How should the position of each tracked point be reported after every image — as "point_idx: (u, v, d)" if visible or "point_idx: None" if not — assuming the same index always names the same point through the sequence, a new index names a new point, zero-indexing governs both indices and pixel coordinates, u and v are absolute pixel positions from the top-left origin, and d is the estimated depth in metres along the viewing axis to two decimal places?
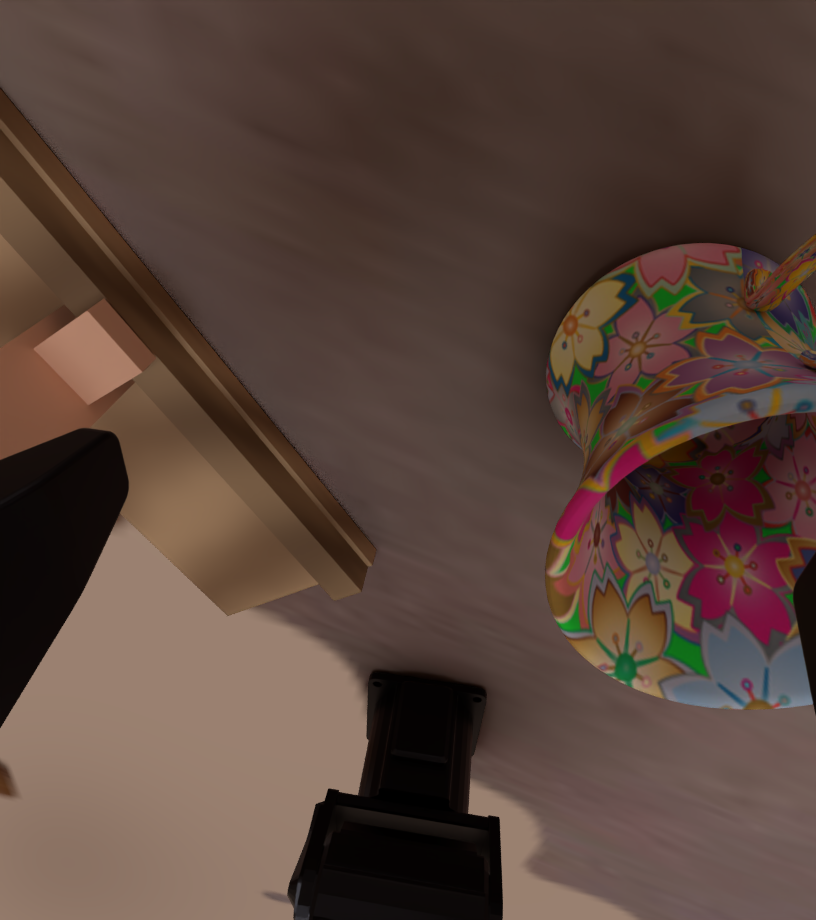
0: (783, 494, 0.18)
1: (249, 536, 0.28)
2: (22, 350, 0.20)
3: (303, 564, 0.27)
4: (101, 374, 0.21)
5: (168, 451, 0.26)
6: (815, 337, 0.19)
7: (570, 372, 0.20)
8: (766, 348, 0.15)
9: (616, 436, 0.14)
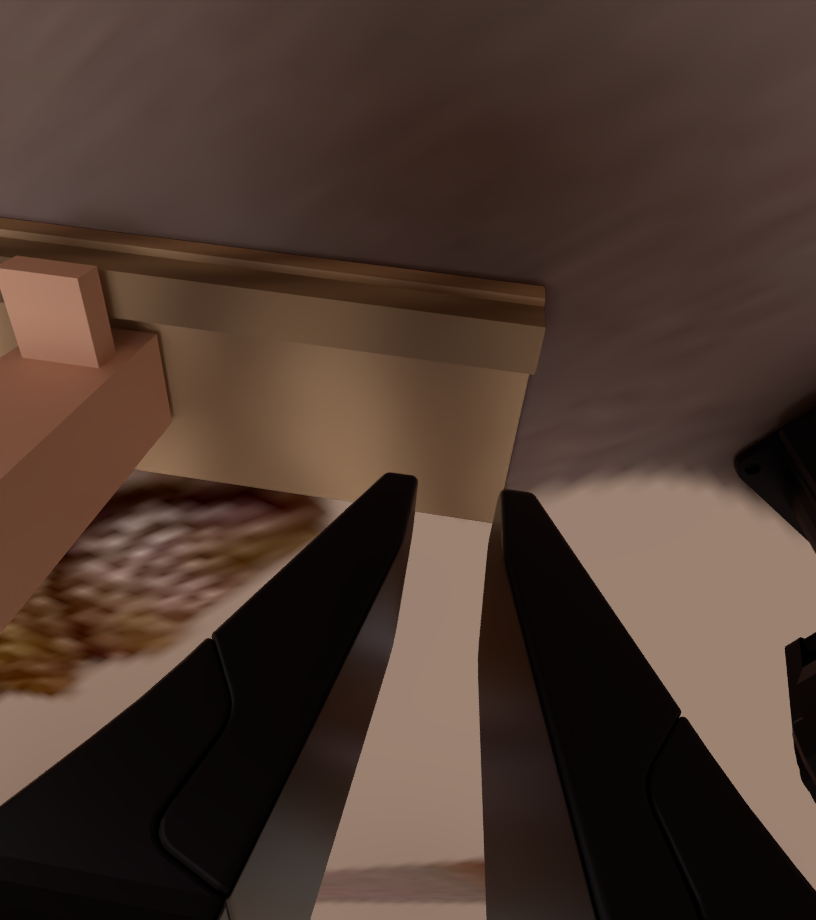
0: None
1: (405, 401, 0.21)
2: (9, 362, 0.18)
3: (453, 360, 0.18)
4: (67, 322, 0.18)
5: (255, 382, 0.22)
6: None
7: None
8: None
9: None
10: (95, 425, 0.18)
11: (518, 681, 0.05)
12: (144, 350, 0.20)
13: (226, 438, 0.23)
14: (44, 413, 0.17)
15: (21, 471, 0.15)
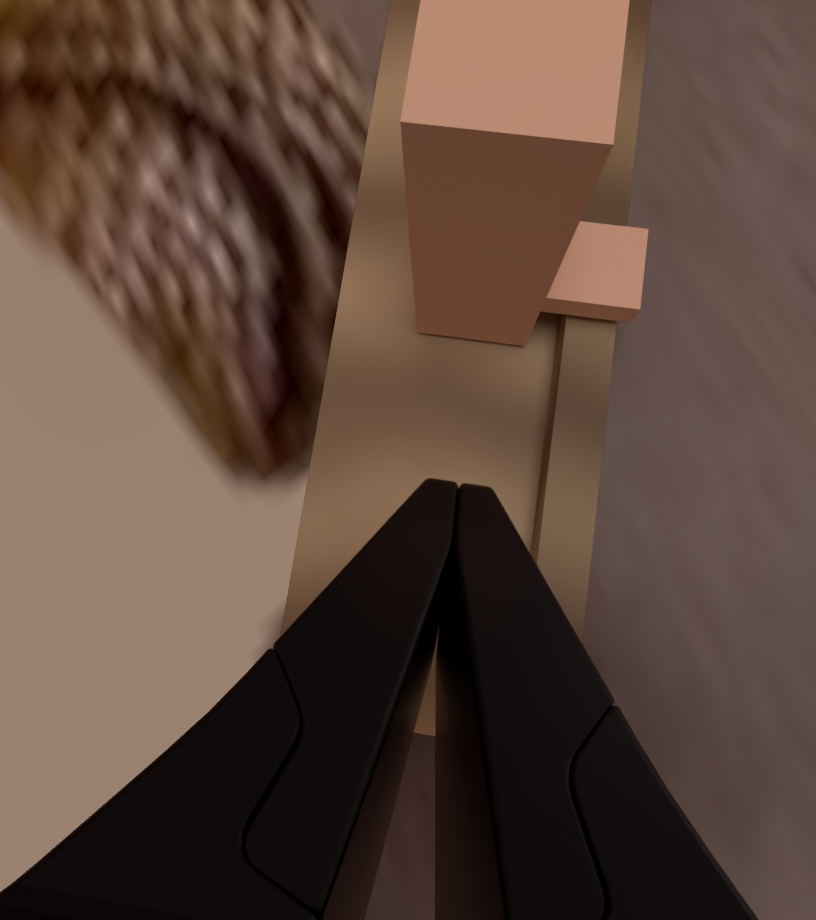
0: None
1: None
2: None
3: None
4: (593, 282, 0.18)
5: (463, 436, 0.20)
6: None
7: None
8: None
9: None
10: (511, 287, 0.16)
11: (460, 671, 0.05)
12: (524, 335, 0.19)
13: (390, 387, 0.20)
14: None
15: (562, 229, 0.13)
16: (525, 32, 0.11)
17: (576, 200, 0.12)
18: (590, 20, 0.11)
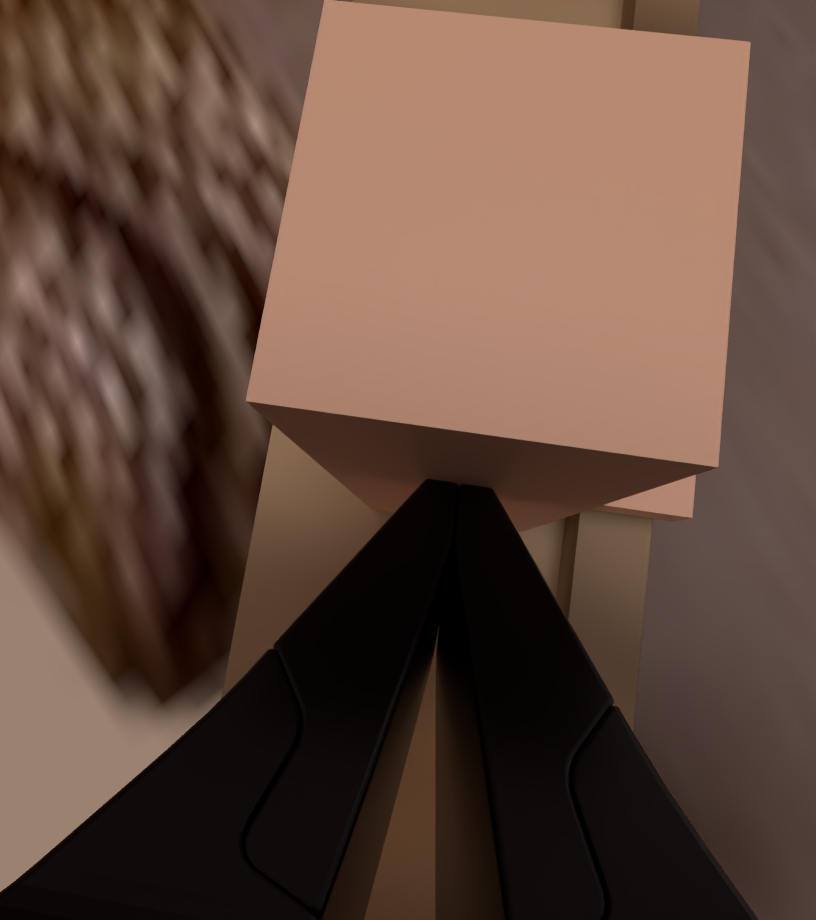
0: None
1: (404, 913, 0.13)
2: None
3: None
4: None
5: (435, 662, 0.14)
6: None
7: None
8: None
9: None
10: None
11: (460, 671, 0.05)
12: (520, 528, 0.14)
13: None
14: None
15: (587, 498, 0.07)
16: (520, 202, 0.05)
17: (618, 489, 0.06)
18: (659, 176, 0.05)
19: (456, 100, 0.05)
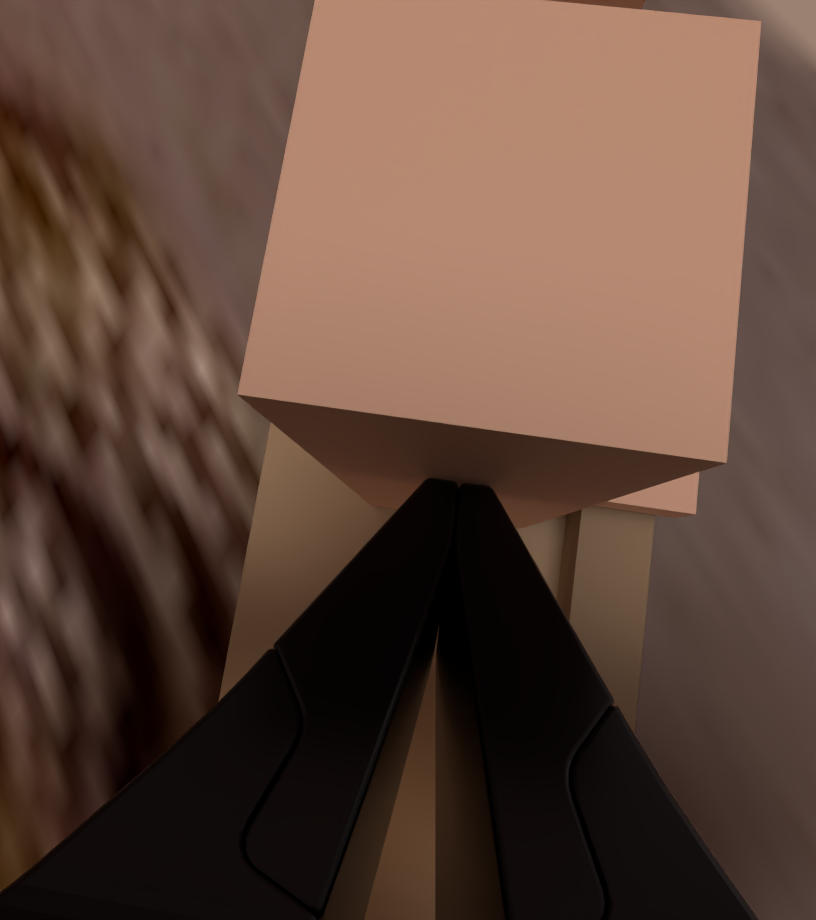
0: None
1: None
2: None
3: None
4: None
5: None
6: None
7: None
8: None
9: None
10: None
11: (460, 671, 0.05)
12: (521, 525, 0.13)
13: None
14: None
15: (589, 496, 0.07)
16: (522, 188, 0.05)
17: (622, 485, 0.06)
18: (667, 160, 0.05)
19: (456, 82, 0.05)
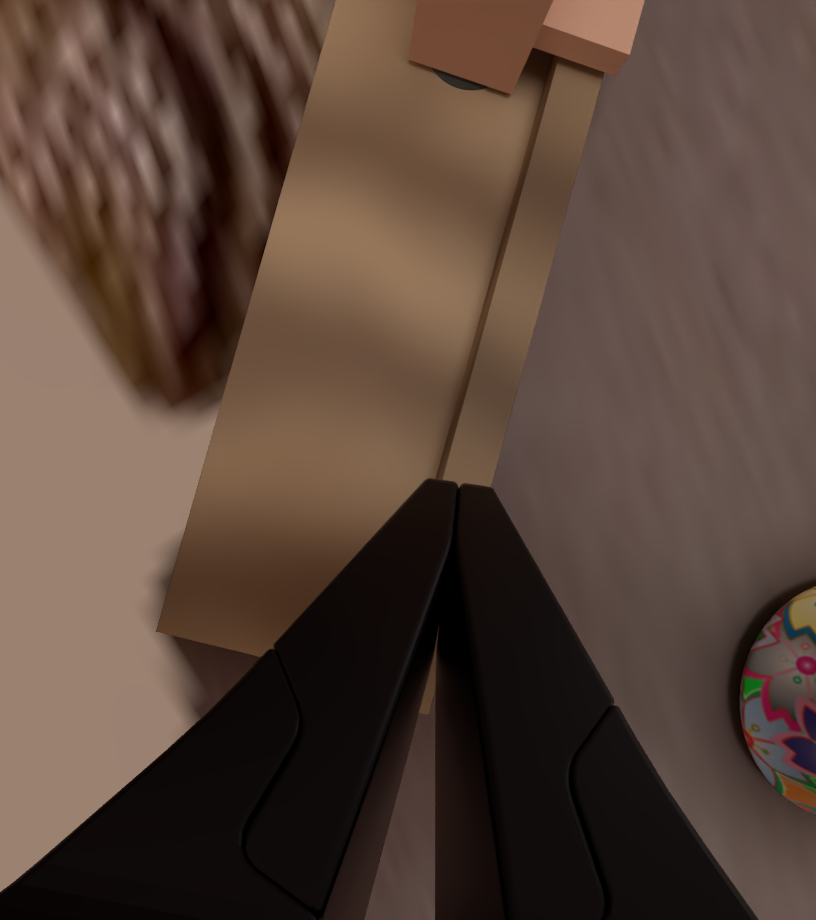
0: None
1: (337, 551, 0.20)
2: None
3: None
4: (591, 19, 0.18)
5: (378, 394, 0.20)
6: None
7: None
8: None
9: None
10: None
11: (460, 672, 0.05)
12: (513, 75, 0.20)
13: (311, 333, 0.20)
14: None
15: None
16: None
17: None
18: None
19: None
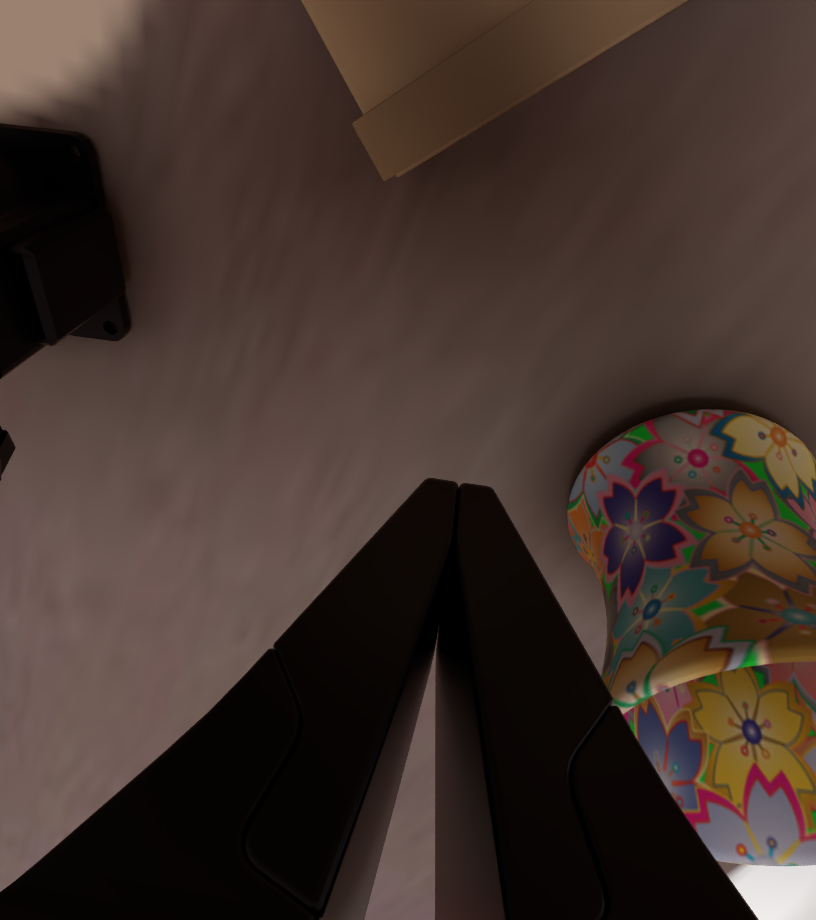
0: None
1: None
2: None
3: (441, 68, 0.14)
4: None
5: None
6: None
7: (750, 455, 0.19)
8: None
9: None
10: None
11: (460, 671, 0.05)
12: None
13: None
14: None
15: None
16: None
17: None
18: None
19: None
